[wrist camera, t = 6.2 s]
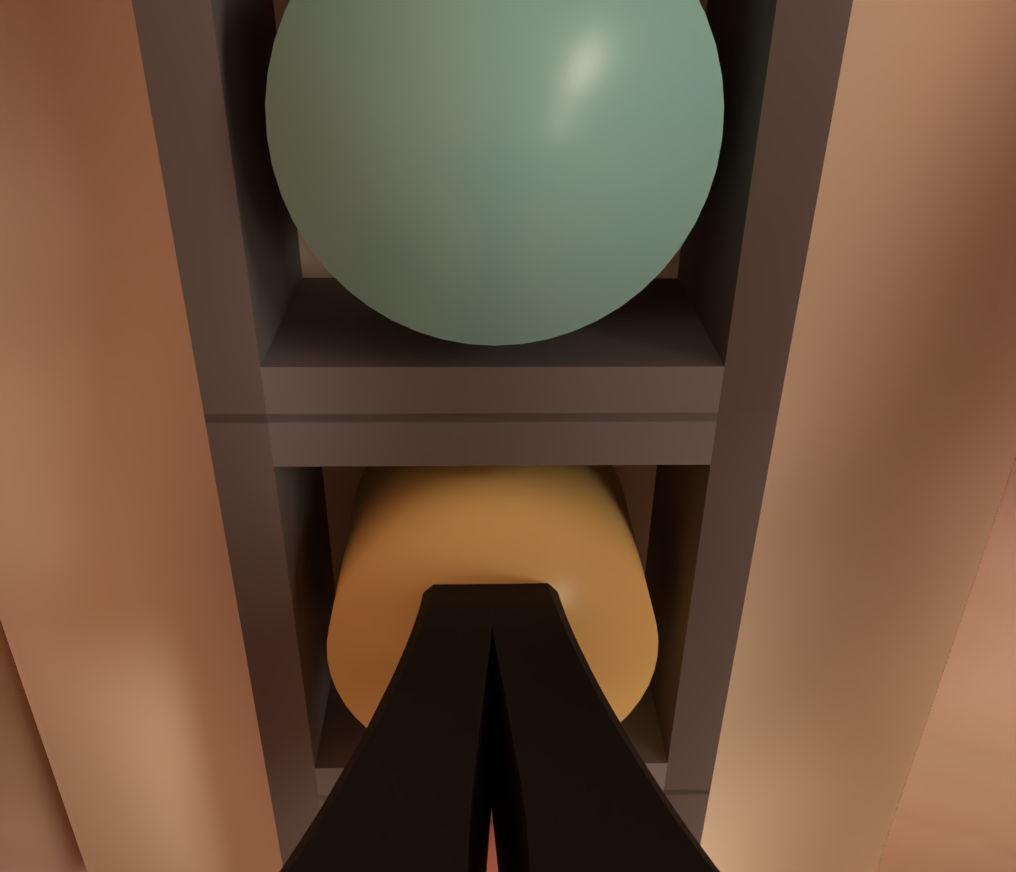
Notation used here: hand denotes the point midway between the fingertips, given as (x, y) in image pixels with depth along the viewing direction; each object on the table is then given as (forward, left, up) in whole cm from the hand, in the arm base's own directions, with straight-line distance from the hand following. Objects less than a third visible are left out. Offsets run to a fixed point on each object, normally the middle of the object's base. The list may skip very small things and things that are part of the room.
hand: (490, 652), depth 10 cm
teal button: (0, -6, -2) cm, 6 cm away
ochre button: (0, 0, -2) cm, 2 cm away
